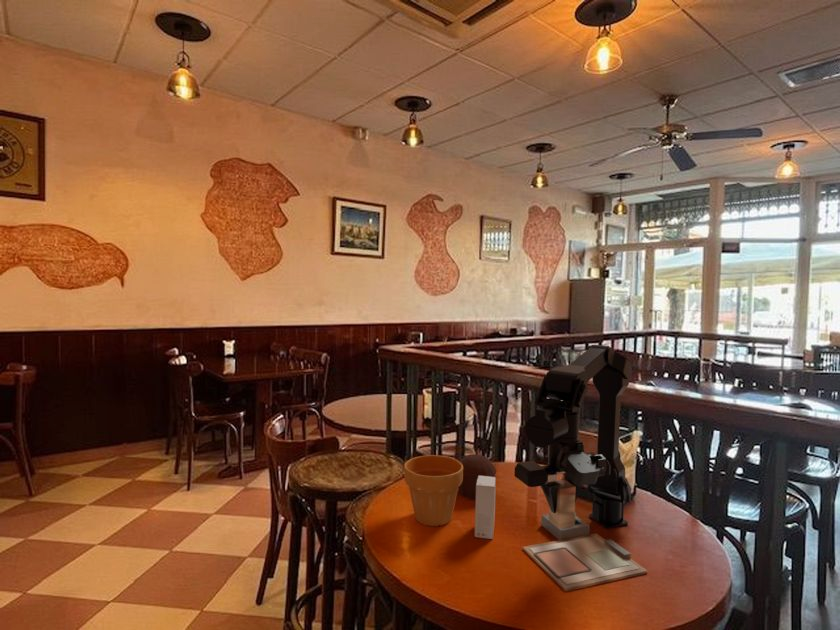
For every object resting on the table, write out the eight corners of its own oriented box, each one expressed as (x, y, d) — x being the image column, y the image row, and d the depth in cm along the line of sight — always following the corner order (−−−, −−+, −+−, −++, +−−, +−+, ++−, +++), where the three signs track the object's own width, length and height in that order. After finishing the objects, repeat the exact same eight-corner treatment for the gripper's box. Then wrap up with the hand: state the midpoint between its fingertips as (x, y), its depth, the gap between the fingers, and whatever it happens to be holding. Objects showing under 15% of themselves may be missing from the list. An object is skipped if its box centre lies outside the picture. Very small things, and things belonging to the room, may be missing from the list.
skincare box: (493, 539, 105) (494, 487, 105) (474, 537, 106) (475, 485, 106) (494, 526, 111) (496, 476, 111) (476, 524, 112) (477, 474, 112)
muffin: (498, 502, 124) (499, 465, 123) (456, 501, 124) (456, 464, 124) (492, 484, 136) (493, 449, 135) (453, 483, 136) (454, 449, 135)
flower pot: (394, 525, 111) (395, 471, 110) (415, 500, 124) (416, 451, 124) (452, 537, 106) (453, 480, 106) (468, 510, 120) (469, 459, 119)
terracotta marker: (563, 517, 97) (564, 479, 97) (574, 526, 94) (575, 486, 93) (548, 520, 96) (549, 481, 95) (559, 529, 93) (560, 489, 92)
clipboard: (596, 535, 108) (596, 529, 108) (647, 573, 94) (647, 565, 93) (522, 549, 102) (522, 542, 102) (565, 591, 87) (565, 583, 87)
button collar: (568, 520, 115) (569, 510, 114) (589, 536, 107) (589, 525, 107) (541, 525, 112) (541, 515, 112) (560, 541, 105) (561, 530, 105)
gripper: (545, 453, 83) (544, 539, 84) (631, 441, 89) (629, 522, 90) (513, 434, 94) (512, 510, 95) (592, 425, 100) (590, 497, 101)
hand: (561, 510), depth 95 cm, fingers closed on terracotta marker, 3 cm apart
